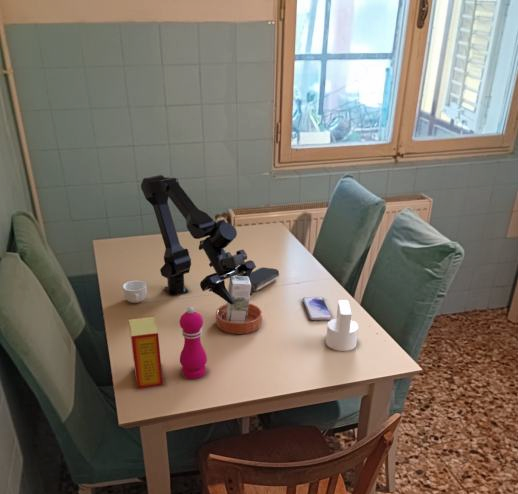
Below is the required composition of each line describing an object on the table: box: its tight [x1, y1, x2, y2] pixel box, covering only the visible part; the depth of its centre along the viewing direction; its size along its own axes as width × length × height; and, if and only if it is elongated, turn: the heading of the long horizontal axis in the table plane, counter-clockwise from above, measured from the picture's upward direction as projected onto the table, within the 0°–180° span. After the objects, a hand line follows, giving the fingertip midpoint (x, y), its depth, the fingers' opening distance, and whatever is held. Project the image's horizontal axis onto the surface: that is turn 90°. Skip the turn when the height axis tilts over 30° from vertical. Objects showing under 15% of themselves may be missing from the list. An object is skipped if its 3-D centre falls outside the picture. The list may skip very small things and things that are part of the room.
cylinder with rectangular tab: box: [325, 299, 359, 352], centre depth 166 cm, size 9×9×12 cm
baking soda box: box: [128, 315, 164, 389], centre depth 148 cm, size 10×6×16 cm
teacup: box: [122, 280, 148, 304], centre depth 188 cm, size 10×8×5 cm
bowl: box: [215, 302, 263, 335], centre depth 177 cm, size 14×14×4 cm
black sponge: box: [250, 266, 280, 292], centre depth 202 cm, size 16×8×4 cm, turn 143°
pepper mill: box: [179, 306, 208, 380], centre depth 149 cm, size 7×7×20 cm
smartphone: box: [302, 296, 333, 321], centre depth 186 cm, size 7×1×15 cm
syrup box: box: [226, 275, 251, 323], centre depth 174 cm, size 6×6×14 cm
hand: (241, 299), depth 173 cm, fingers closed on syrup box, 7 cm apart
